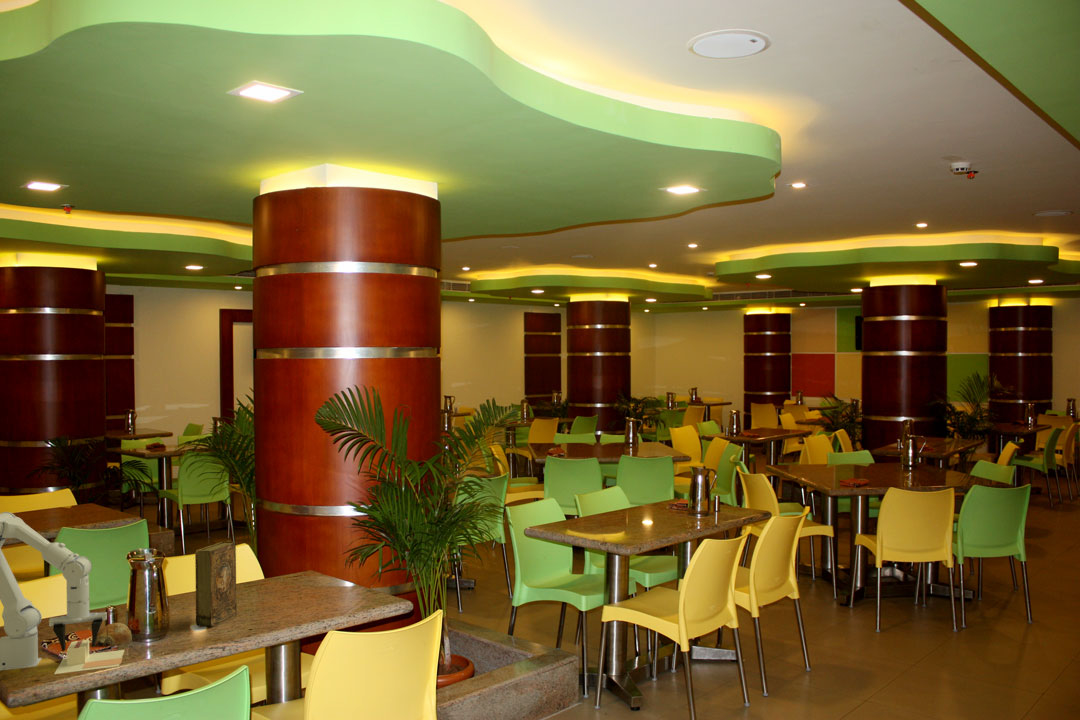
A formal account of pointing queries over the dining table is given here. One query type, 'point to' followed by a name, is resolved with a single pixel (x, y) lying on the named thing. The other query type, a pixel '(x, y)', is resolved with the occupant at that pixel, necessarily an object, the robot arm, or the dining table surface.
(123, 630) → the bread roll
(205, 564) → the book
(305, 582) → the dining table surface
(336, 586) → the dining table surface
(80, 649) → the card box
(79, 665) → the mat
